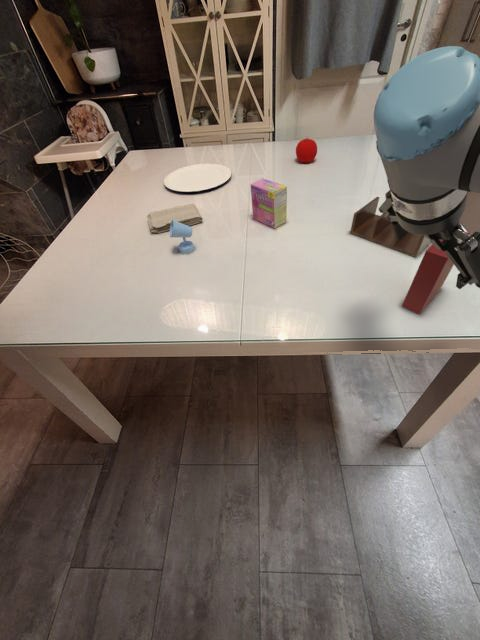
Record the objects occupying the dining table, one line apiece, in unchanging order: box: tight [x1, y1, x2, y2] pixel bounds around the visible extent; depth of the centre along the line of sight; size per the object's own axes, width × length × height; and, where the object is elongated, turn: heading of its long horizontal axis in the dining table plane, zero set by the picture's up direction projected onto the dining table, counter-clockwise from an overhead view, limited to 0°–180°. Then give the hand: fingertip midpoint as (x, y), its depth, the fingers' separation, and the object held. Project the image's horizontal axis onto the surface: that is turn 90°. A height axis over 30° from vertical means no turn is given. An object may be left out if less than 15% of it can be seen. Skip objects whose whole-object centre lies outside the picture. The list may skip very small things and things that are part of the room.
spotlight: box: [169, 220, 195, 255], centre depth 88 cm, size 5×10×7 cm
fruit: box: [295, 136, 318, 164], centre depth 128 cm, size 9×9×10 cm
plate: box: [163, 162, 232, 193], centre depth 127 cm, size 29×29×2 cm
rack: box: [349, 196, 432, 258], centre depth 85 cm, size 20×13×6 cm, turn 44°
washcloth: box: [146, 203, 203, 234], centre depth 103 cm, size 12×18×3 cm, turn 109°
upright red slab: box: [401, 231, 471, 315], centre depth 64 cm, size 4×11×15 cm, turn 134°
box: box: [250, 178, 288, 229], centre depth 95 cm, size 10×6×12 cm, turn 42°
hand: (432, 256), depth 52 cm, fingers open, 13 cm apart
